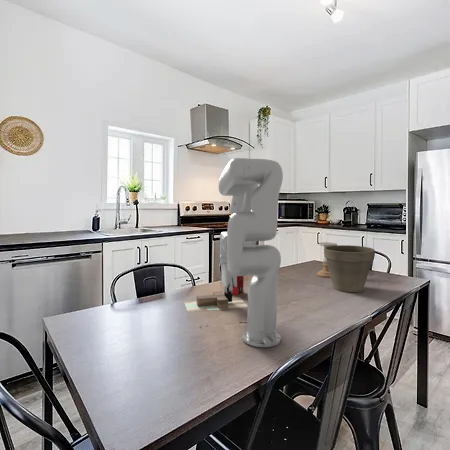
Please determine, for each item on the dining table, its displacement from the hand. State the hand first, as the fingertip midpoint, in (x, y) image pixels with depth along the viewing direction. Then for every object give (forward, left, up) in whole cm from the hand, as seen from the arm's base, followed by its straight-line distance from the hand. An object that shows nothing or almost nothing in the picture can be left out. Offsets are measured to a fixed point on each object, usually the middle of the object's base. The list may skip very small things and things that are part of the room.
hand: (228, 301), depth 139 cm
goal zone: (0, +12, -2) cm, 12 cm away
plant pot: (+13, -68, -2) cm, 70 cm away
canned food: (+15, -7, -2) cm, 17 cm away
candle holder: (+42, -74, -2) cm, 85 cm away
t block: (0, +8, -1) cm, 8 cm away
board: (0, +6, -2) cm, 6 cm away
